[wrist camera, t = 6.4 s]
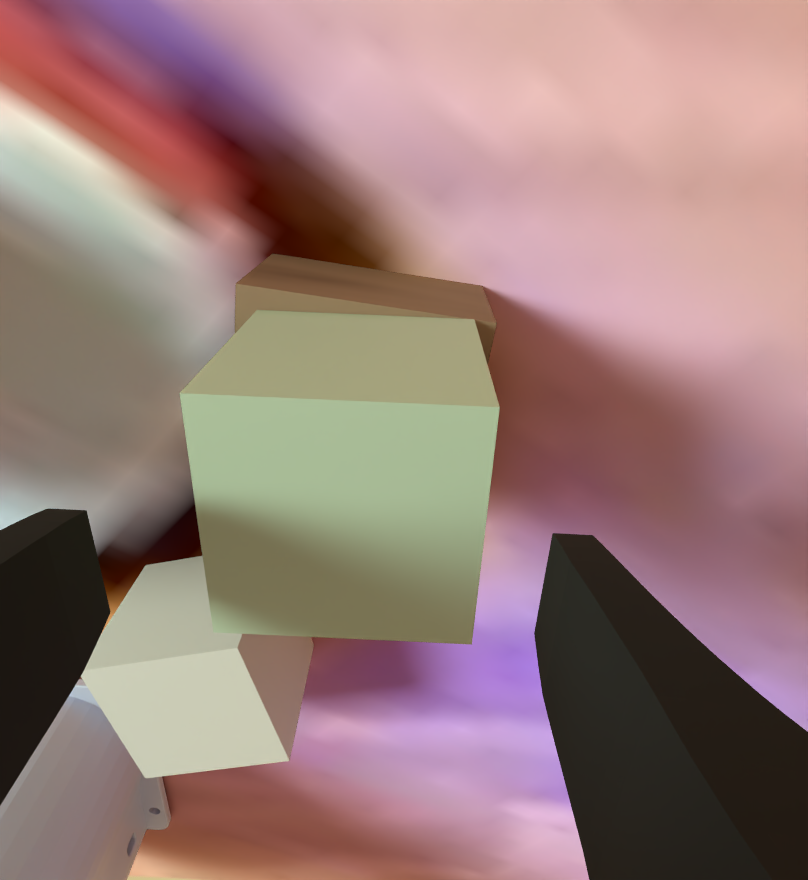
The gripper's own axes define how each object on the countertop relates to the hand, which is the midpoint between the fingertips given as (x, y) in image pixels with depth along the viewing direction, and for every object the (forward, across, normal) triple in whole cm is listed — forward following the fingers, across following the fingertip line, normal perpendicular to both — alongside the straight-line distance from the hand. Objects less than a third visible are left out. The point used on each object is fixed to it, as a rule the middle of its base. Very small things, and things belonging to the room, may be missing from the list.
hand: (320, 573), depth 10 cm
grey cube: (+10, +5, +10) cm, 15 cm away
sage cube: (+6, 0, 0) cm, 6 cm away
